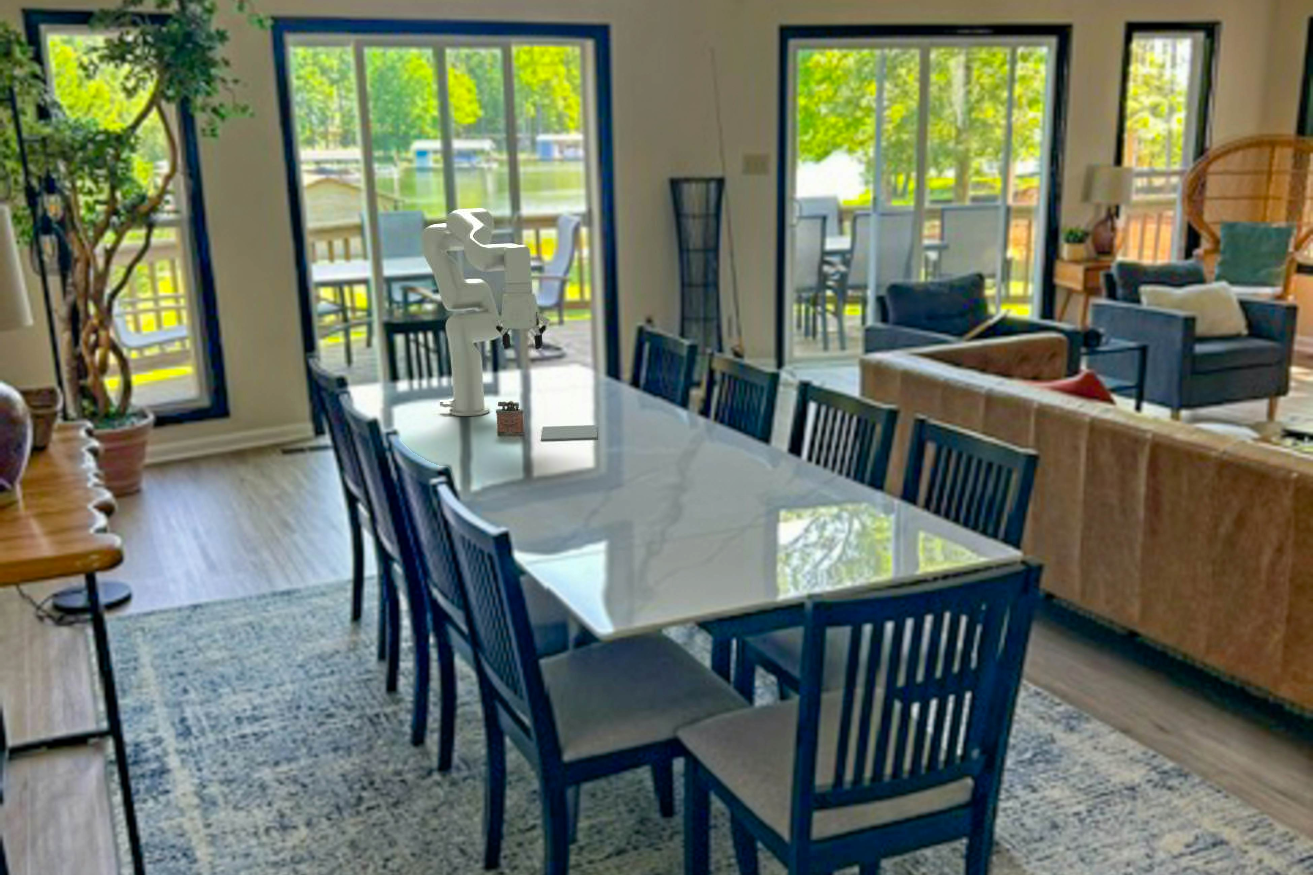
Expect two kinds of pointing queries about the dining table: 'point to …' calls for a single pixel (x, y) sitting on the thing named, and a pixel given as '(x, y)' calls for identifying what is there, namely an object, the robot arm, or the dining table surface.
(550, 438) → the mat
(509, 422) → the lighter
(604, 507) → the dining table surface
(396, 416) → the dining table surface
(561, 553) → the dining table surface
